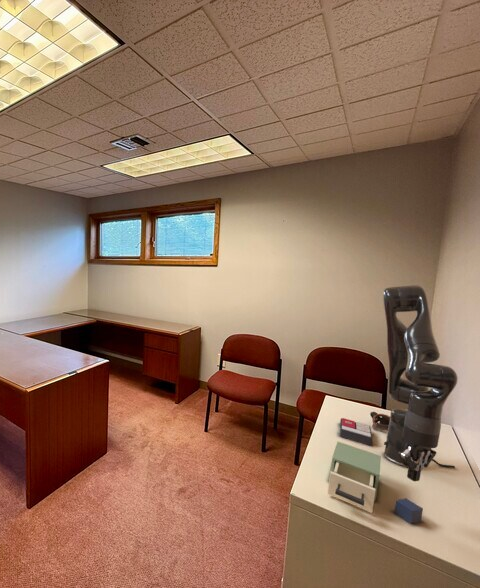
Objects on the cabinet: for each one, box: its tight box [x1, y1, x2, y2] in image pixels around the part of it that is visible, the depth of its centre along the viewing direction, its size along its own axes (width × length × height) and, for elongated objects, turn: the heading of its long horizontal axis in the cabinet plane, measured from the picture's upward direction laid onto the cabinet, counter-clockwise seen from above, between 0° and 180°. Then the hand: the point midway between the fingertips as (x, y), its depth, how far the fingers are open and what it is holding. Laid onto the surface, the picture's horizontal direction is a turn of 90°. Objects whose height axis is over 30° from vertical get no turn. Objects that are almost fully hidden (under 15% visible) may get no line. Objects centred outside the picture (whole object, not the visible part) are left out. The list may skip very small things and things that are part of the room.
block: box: [393, 497, 424, 525], centre depth 100 cm, size 4×4×4 cm
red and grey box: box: [339, 417, 373, 446], centre depth 147 cm, size 11×4×15 cm
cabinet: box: [328, 440, 382, 502], centre depth 115 cm, size 15×13×10 cm
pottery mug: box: [369, 411, 390, 431], centre depth 154 cm, size 12×10×8 cm
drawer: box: [327, 462, 376, 514], centre depth 107 cm, size 19×11×8 cm, turn 136°
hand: (412, 479), depth 99 cm, fingers closed
